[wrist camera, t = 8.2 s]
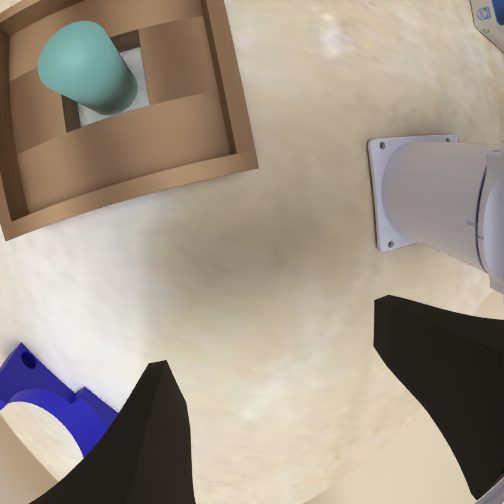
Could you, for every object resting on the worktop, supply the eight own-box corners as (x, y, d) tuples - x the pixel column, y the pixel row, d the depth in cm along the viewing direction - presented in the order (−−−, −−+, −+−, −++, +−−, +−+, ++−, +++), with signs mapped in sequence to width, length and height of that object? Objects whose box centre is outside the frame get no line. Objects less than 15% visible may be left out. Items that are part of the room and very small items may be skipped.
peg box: (203, -18, 13) (210, -57, 9) (241, 166, 17) (258, 168, 13) (17, 43, 11) (-15, 22, 7) (41, 222, 15) (5, 241, 11)
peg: (132, 61, 14) (104, 10, 7) (141, 105, 15) (112, 72, 8) (85, 78, 13) (36, 40, 7) (93, 122, 14) (41, 103, 8)
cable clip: (138, 426, 21) (134, 480, 16) (108, 441, 22) (101, 491, 16) (30, 332, 17) (-3, 380, 12) (7, 356, 17) (-22, 402, 12)
